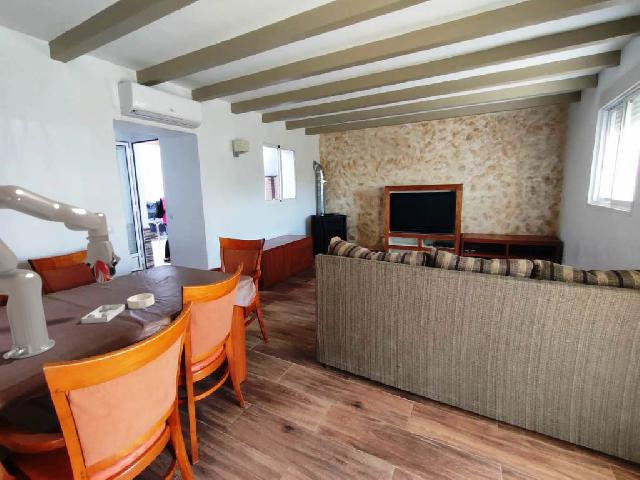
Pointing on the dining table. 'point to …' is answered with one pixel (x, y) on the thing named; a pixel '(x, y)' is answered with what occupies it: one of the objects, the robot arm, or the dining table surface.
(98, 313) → the parts tray
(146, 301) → the bowl
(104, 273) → the soda can
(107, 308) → the pebble
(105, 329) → the dining table surface
